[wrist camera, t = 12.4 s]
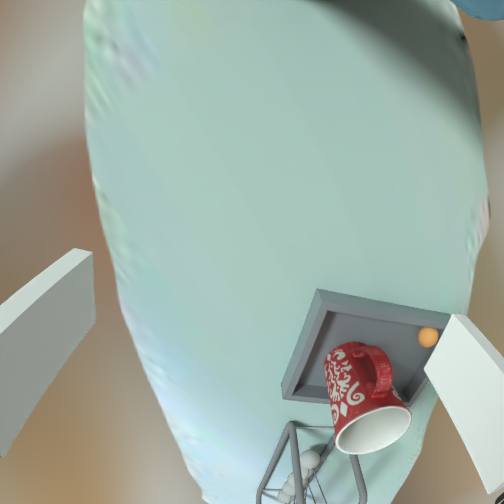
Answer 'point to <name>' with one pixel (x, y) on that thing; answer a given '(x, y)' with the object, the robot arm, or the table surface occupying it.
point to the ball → (427, 336)
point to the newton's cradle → (305, 469)
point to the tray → (365, 331)
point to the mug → (363, 399)
